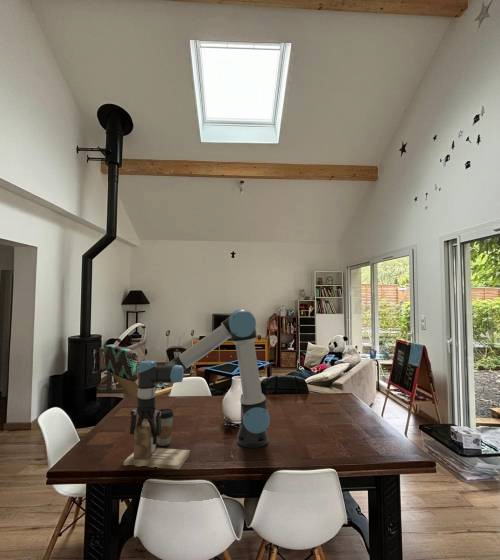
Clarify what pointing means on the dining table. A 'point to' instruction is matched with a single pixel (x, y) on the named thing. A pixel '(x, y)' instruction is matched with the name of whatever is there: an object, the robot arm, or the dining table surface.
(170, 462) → the board
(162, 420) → the coffee cup
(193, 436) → the dining table surface
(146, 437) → the block
